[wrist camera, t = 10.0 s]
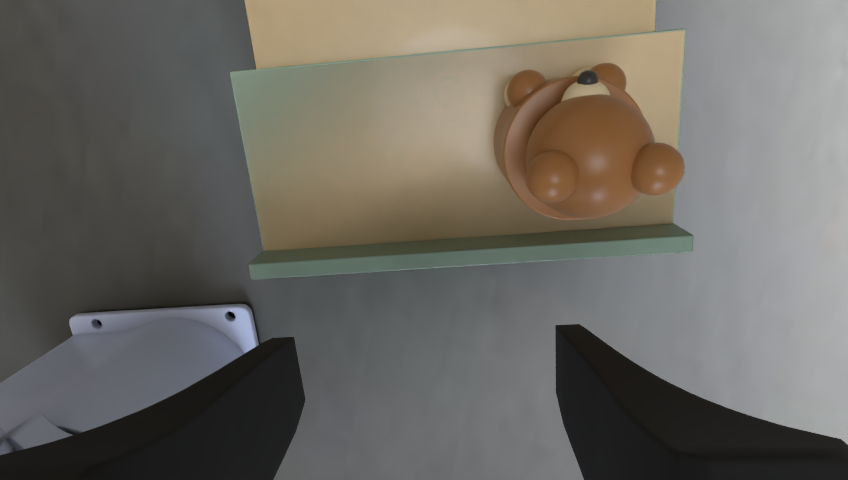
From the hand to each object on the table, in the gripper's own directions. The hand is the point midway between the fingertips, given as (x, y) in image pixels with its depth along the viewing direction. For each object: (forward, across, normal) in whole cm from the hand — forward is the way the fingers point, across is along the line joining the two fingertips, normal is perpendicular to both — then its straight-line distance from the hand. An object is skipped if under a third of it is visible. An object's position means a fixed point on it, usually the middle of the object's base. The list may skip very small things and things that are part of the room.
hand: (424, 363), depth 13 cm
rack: (+10, -1, -8) cm, 13 cm away
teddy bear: (+6, -4, -5) cm, 9 cm away
